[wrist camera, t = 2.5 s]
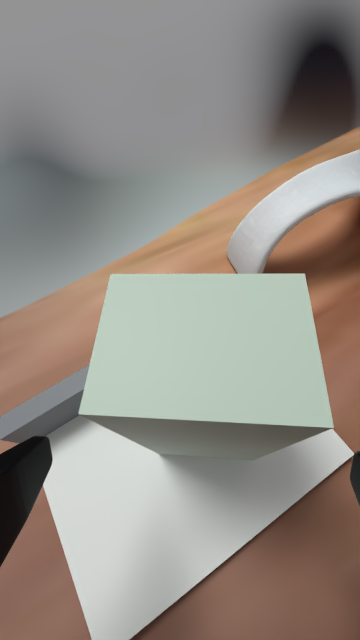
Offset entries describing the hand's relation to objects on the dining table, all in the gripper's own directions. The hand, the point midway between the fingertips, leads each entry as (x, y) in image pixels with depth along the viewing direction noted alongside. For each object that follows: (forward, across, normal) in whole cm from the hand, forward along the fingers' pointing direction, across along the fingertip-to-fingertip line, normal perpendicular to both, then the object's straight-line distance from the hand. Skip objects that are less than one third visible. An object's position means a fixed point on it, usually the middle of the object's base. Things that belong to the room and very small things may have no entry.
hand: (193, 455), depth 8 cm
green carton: (+8, 0, +5) cm, 9 cm away
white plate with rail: (+8, +1, +6) cm, 10 cm away
